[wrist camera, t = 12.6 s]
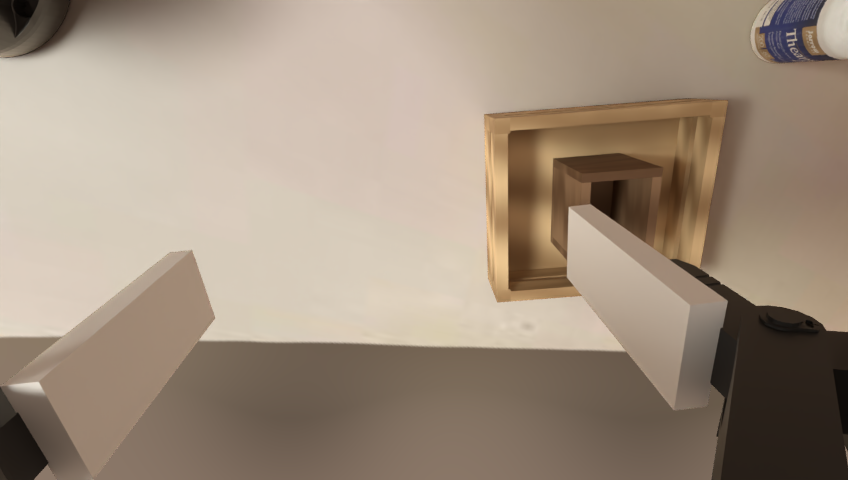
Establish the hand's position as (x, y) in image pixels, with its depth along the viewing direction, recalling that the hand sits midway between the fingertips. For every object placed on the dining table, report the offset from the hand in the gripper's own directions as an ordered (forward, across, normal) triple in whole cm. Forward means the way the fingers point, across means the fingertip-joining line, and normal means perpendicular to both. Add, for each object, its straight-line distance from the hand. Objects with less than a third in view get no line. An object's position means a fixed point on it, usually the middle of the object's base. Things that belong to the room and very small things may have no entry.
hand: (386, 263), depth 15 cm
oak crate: (+24, +17, -6) cm, 30 cm away
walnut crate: (+23, +17, -6) cm, 30 cm away
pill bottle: (+24, +33, +6) cm, 42 cm away
